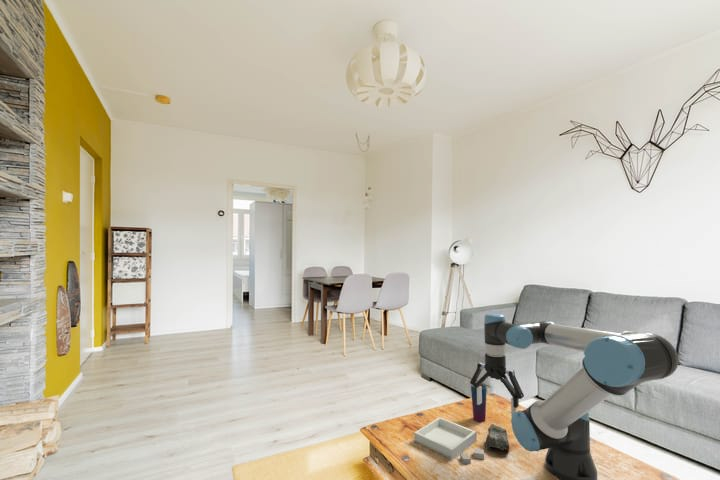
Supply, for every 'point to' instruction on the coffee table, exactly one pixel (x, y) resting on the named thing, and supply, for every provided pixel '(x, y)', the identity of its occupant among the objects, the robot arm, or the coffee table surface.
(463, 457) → the chip
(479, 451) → the grey small block
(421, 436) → the bin
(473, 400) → the cup
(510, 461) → the coffee table surface
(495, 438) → the rock
